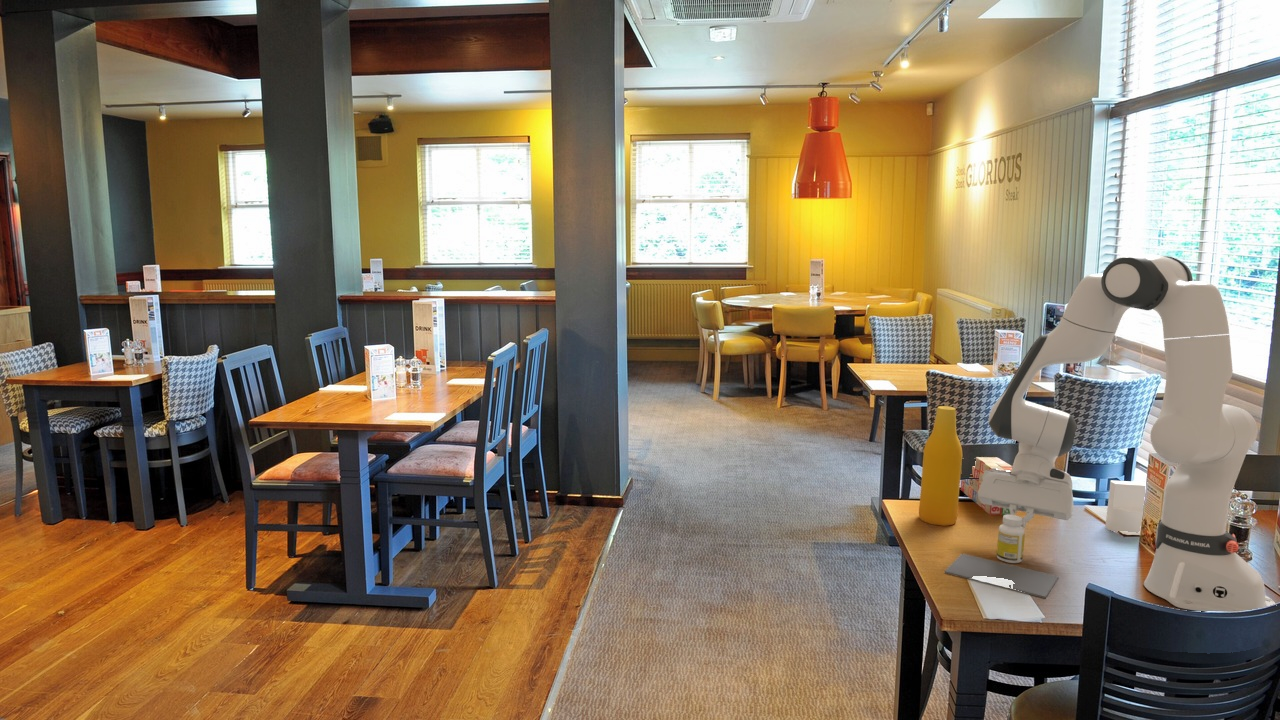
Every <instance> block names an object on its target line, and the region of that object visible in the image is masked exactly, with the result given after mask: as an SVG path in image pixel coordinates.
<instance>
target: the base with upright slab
mask: <svg viewBox="0 0 1280 720" xmlns="http://www.w3.org/2000/svg"><path fill="white" fill-rule="evenodd" d="M1145 486H1146V482H1145V481H1144V482H1143V481H1129V480H1127V481H1126V480H1110V484H1109V490H1108V491H1109V492H1108V500H1107V502H1108V503H1107V509H1106V518H1105V526H1104V527H1105V528H1106V529H1107V530H1108V529H1109V530H1108V531H1110V530H1111V531H1110V532H1112V531H1116V532H1118V531H1128V532H1136V533H1138V532H1139V531H1140V526H1141V520H1142V515H1143V504H1144V497H1145Z"/></svg>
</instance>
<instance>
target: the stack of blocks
mask: <svg viewBox="0 0 1280 720" xmlns="http://www.w3.org/2000/svg"><path fill="white" fill-rule="evenodd" d="M975 459H976V461H975V466H972V474H970V475H973V477H969V478H979V479H965V480H961V479H960V488H961V489H960V488H959V491H960V490H961V491H962V492H963V494H965V496H967V497H968V498H969V499H970V500H972V501H973V502H975V503H976V504H977V505H978V506H979V507H980V508H981V509H982V510H984V511H985V512H986V513H987V514H989V515H993V516H994V515H997V516H998V515H999V516H1001V515H1003V516H1004V515H1007V514H1010V511H1009V509H1007V508H1002V507H997V506H992V505H987V504H982V503H981V502H980V500H979V498H978V490H979V487H980V485H981V483H982V477H983V473H984V472H985V471H986V470H989V469H992V468H995V469H999V470H1007V471H1011V470H1012V467H1013V465H1011V464H1009V463H1007V462H1006V461H1004V460H1002V459H1001V458H999V457H996V456H995V457H994V456H993V457H989V456H988V457H987V456H984V457H983V456H981V457H979V456H976V457H975ZM1010 515H1011V514H1010Z"/></svg>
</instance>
